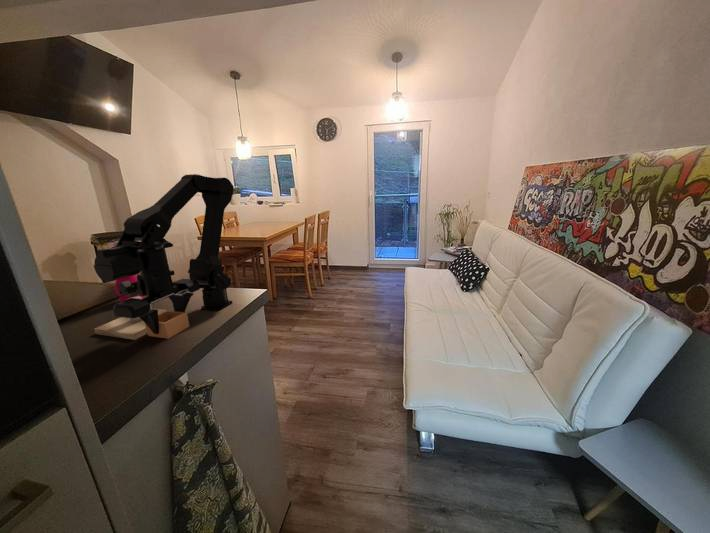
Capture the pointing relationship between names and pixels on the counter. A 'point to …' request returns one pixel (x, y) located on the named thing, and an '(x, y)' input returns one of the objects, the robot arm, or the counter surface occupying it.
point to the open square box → (170, 324)
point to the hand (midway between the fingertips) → (168, 327)
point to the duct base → (125, 327)
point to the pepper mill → (130, 278)
